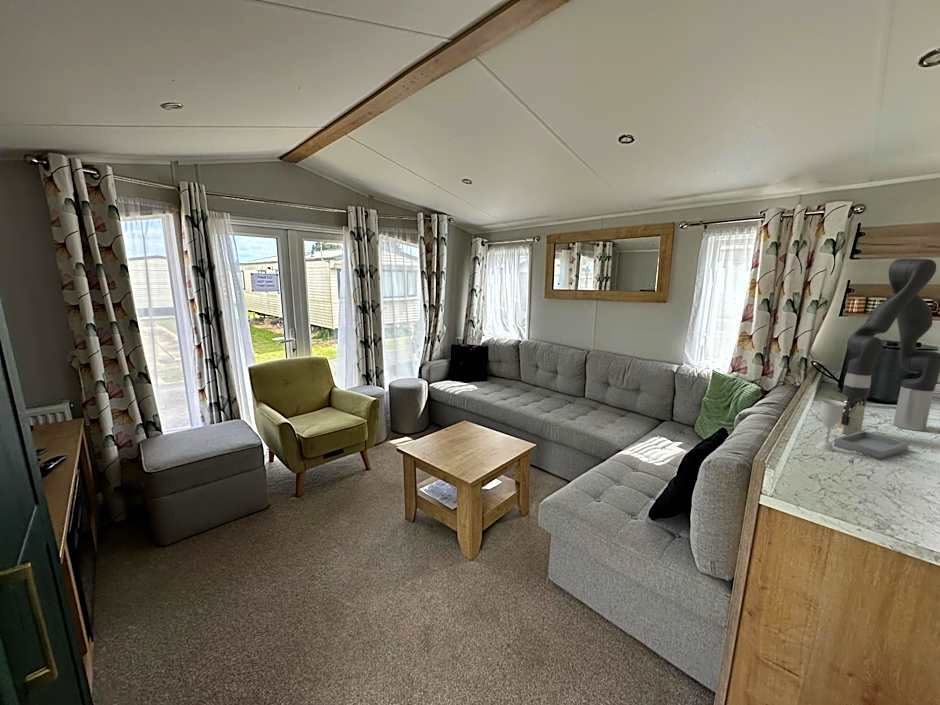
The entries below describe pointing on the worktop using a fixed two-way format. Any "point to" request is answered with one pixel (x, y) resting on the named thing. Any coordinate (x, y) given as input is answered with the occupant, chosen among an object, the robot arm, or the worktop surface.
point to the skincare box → (853, 421)
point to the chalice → (830, 420)
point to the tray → (871, 444)
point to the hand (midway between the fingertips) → (849, 423)
